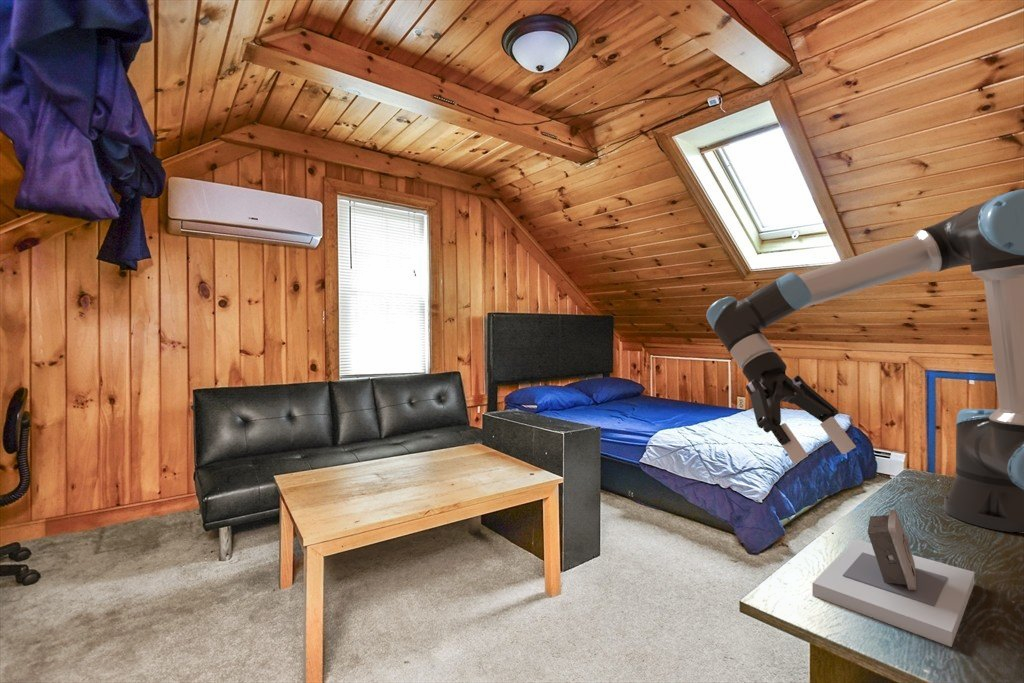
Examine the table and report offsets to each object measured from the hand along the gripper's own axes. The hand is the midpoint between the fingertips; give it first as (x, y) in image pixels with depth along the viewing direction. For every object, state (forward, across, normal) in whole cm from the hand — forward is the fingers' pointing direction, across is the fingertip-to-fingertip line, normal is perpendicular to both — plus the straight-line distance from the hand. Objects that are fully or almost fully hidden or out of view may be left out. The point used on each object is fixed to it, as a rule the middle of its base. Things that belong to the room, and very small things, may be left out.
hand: (826, 455), depth 87 cm
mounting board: (+22, +2, -3) cm, 22 cm away
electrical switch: (+20, +2, -1) cm, 20 cm away
